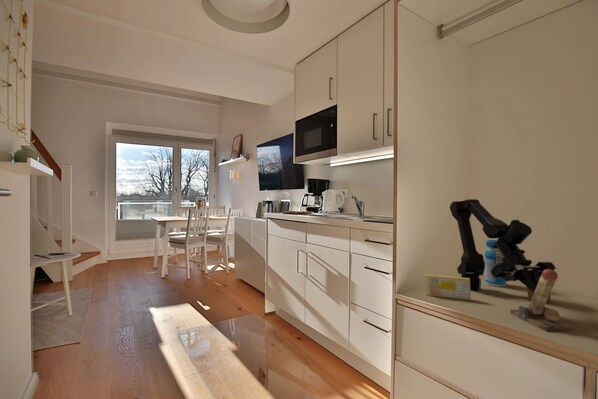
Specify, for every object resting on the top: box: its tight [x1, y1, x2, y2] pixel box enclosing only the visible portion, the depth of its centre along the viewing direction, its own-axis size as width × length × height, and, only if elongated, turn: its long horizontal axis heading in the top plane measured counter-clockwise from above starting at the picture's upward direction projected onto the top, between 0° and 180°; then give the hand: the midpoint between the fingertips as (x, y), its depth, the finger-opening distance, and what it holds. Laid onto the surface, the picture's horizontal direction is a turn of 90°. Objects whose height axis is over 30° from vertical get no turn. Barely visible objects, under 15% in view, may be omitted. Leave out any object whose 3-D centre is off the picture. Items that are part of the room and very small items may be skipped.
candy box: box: [424, 274, 472, 301], centre depth 115 cm, size 16×2×8 cm, turn 65°
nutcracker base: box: [510, 305, 572, 332], centre depth 91 cm, size 14×8×6 cm, turn 1°
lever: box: [527, 269, 559, 315], centre depth 90 cm, size 4×4×17 cm
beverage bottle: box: [483, 239, 507, 287], centre depth 132 cm, size 8×8×20 cm
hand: (537, 293), depth 91 cm, fingers closed, pressing on lever
